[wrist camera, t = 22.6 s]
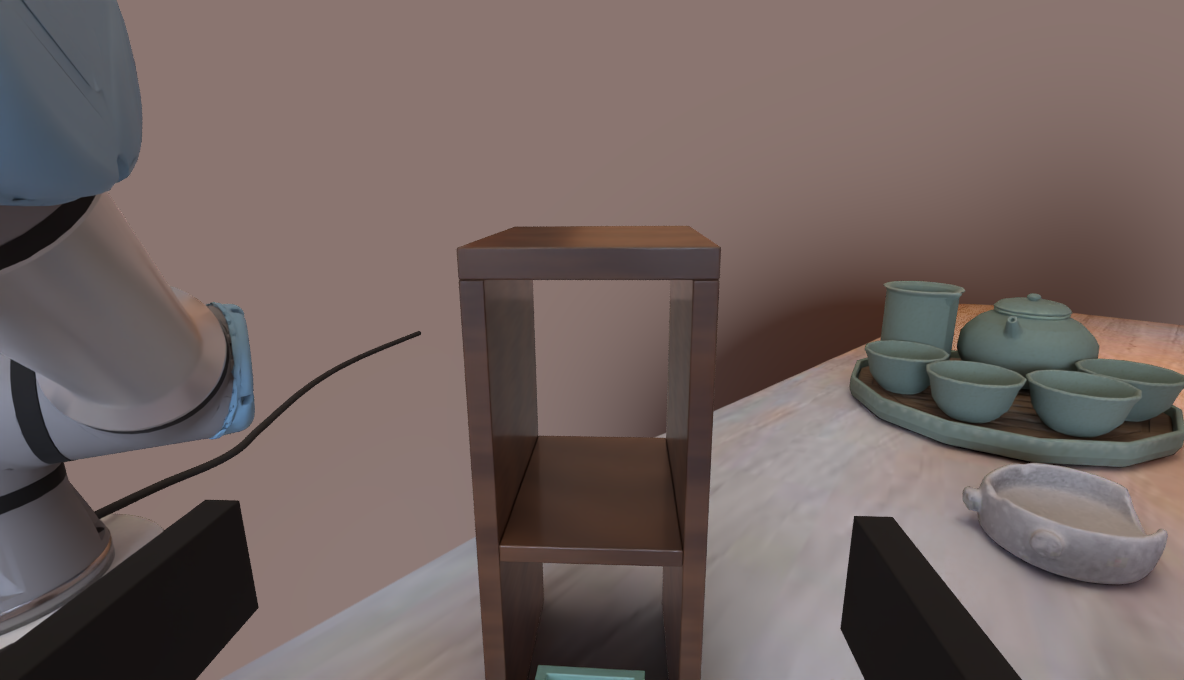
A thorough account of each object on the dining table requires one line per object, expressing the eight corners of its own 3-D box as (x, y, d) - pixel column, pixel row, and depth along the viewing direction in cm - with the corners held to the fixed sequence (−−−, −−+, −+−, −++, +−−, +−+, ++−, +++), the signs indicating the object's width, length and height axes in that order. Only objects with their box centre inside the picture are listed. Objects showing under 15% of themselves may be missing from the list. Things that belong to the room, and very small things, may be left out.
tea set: (836, 432, 79) (849, 313, 75) (862, 357, 113) (872, 272, 109) (1246, 505, 61) (1293, 352, 56) (1130, 389, 95) (1154, 288, 90)
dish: (1082, 505, 61) (1092, 461, 60) (1209, 595, 47) (1225, 541, 46) (938, 501, 62) (945, 458, 61) (1022, 589, 48) (1033, 536, 47)
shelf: (529, 598, 48) (513, 226, 40) (676, 603, 47) (689, 225, 40) (490, 761, 34) (455, 247, 27) (696, 771, 34) (721, 246, 26)
